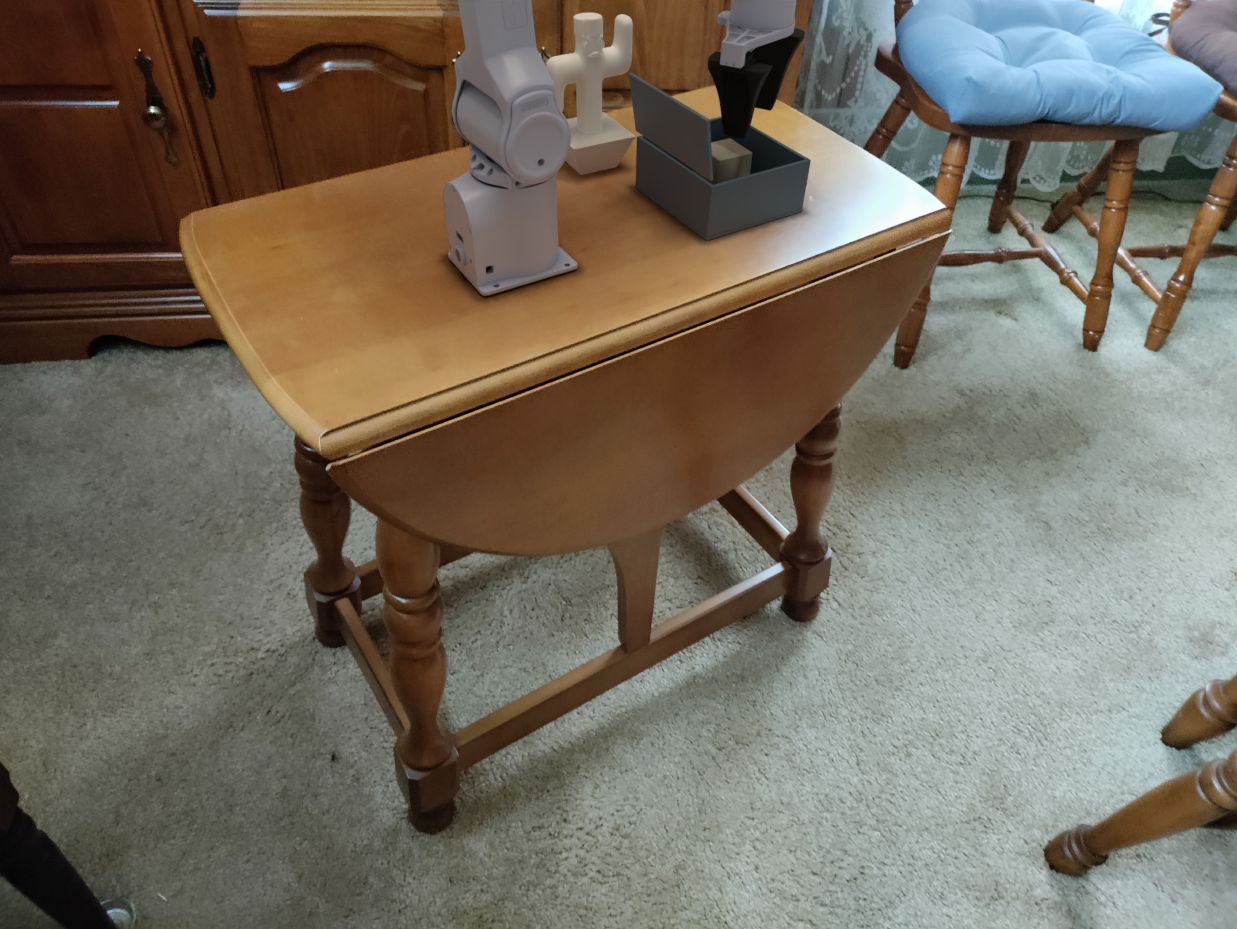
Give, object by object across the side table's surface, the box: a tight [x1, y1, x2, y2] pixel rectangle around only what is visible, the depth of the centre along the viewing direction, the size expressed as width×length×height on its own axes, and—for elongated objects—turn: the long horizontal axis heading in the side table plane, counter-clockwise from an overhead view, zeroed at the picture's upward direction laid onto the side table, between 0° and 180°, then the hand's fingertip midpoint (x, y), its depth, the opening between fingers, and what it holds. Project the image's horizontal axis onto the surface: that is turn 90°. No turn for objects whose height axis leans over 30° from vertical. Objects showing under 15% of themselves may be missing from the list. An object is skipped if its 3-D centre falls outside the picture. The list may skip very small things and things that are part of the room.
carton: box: [634, 116, 812, 242], centre depth 86 cm, size 12×13×5 cm
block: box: [696, 138, 752, 185], centre depth 88 cm, size 4×4×4 cm
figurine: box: [545, 12, 637, 176], centre depth 89 cm, size 7×9×15 cm
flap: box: [628, 72, 713, 181], centre depth 80 cm, size 6×13×1 cm
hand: (748, 121), depth 84 cm, fingers open, 7 cm apart
